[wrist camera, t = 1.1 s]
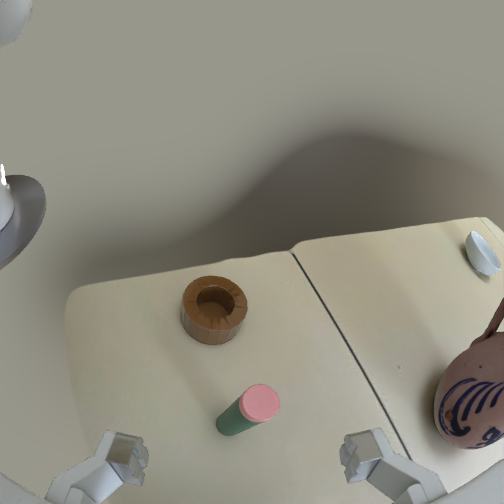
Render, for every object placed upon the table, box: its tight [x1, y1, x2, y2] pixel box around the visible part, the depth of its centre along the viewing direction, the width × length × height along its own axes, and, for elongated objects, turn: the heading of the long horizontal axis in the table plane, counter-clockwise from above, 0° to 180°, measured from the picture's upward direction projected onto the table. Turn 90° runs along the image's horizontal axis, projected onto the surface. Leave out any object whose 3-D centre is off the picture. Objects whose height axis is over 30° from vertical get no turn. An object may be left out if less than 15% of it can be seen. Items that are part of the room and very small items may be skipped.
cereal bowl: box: [465, 231, 501, 276], centre depth 67 cm, size 17×17×7 cm
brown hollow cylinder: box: [181, 276, 248, 345], centre depth 34 cm, size 8×8×4 cm
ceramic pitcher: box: [434, 298, 504, 449], centre depth 24 cm, size 18×21×25 cm
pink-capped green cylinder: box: [216, 384, 280, 436], centre depth 22 cm, size 3×3×13 cm
